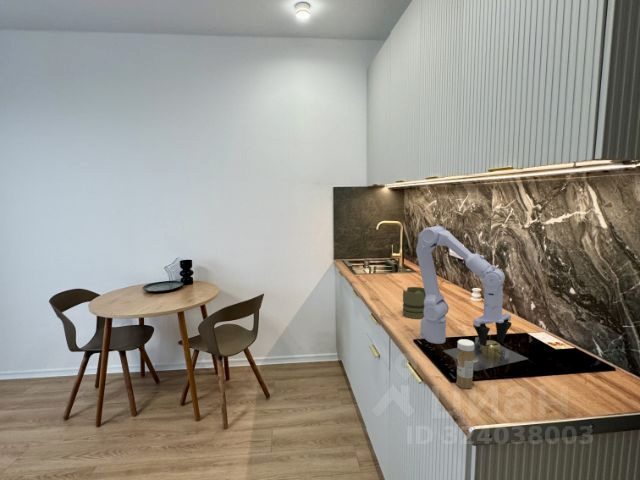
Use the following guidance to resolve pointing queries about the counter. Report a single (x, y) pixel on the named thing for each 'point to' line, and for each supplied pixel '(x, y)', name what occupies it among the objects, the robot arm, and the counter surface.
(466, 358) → the sprinkles bottle
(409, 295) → the piston
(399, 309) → the counter surface
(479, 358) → the base
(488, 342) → the cap
